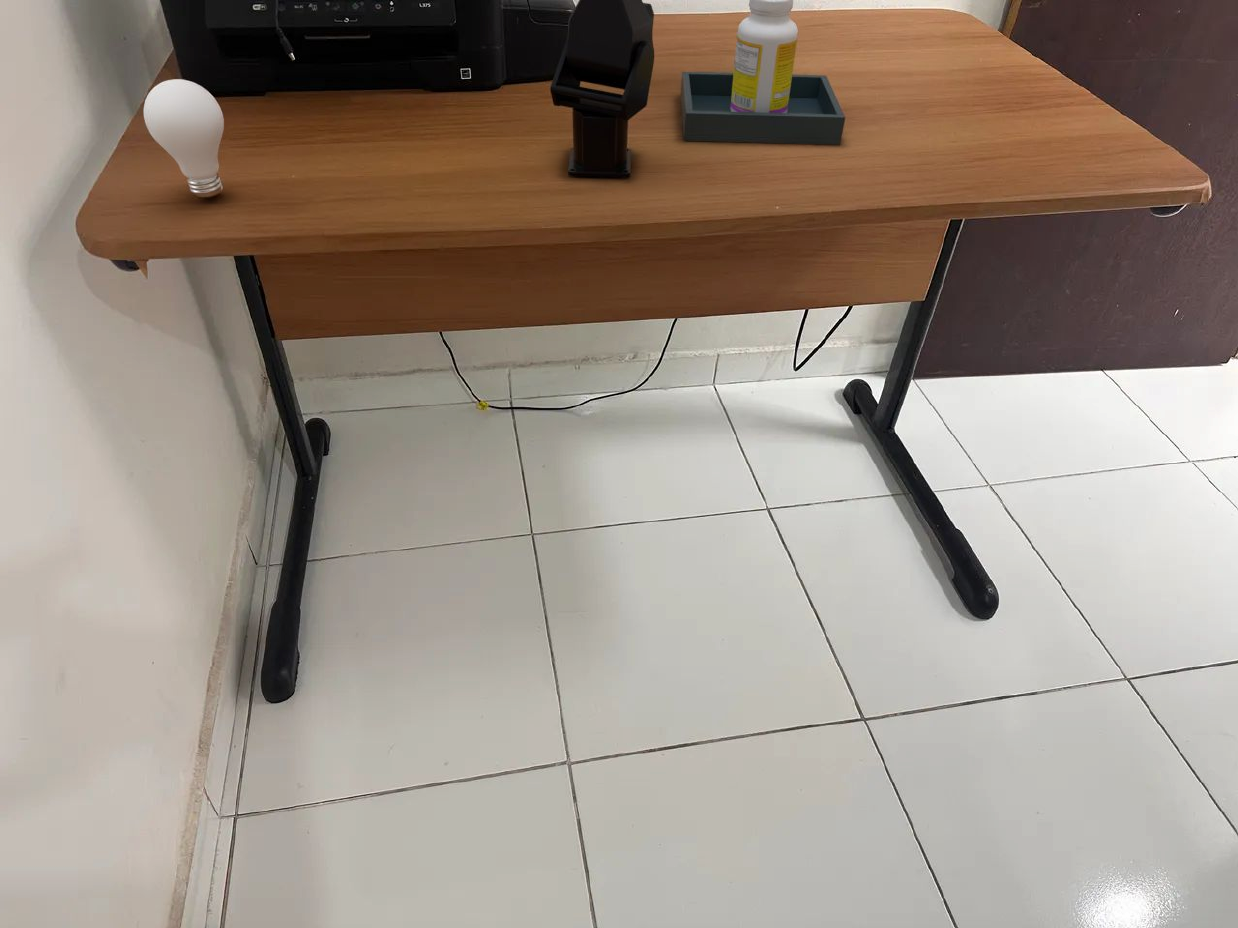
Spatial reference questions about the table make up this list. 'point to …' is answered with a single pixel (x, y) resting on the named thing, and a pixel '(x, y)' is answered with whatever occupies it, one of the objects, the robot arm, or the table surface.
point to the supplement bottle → (764, 58)
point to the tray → (804, 123)
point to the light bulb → (188, 131)
